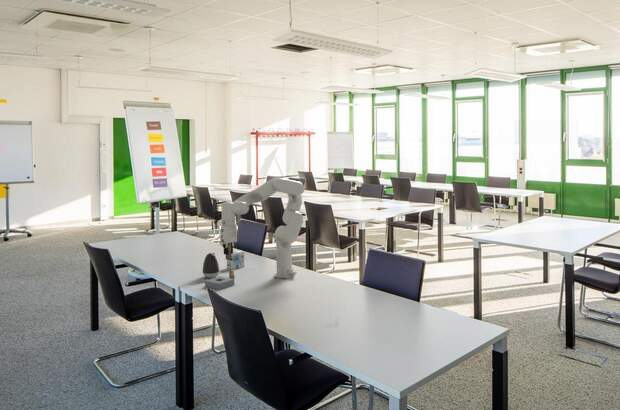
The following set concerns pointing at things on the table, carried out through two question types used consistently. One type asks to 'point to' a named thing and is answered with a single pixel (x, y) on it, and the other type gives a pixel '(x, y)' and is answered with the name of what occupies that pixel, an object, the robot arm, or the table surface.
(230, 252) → the long pin
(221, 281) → the block
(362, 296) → the table surface
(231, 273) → the short pin
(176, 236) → the table surface
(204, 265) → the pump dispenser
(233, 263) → the light bulb box
